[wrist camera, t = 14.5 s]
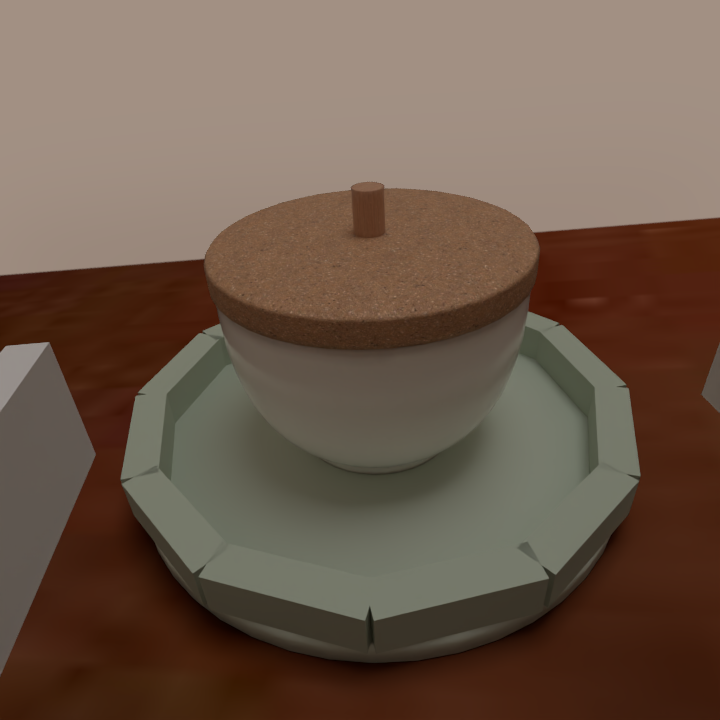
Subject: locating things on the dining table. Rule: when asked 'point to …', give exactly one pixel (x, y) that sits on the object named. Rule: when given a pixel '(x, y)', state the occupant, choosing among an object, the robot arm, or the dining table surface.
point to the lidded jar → (374, 318)
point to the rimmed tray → (384, 508)
